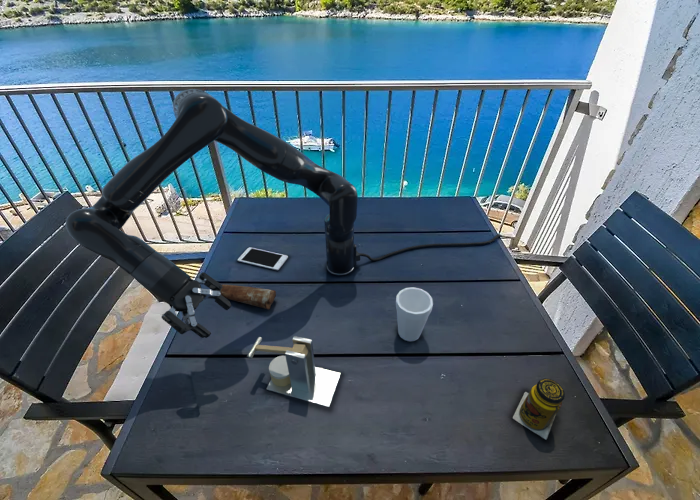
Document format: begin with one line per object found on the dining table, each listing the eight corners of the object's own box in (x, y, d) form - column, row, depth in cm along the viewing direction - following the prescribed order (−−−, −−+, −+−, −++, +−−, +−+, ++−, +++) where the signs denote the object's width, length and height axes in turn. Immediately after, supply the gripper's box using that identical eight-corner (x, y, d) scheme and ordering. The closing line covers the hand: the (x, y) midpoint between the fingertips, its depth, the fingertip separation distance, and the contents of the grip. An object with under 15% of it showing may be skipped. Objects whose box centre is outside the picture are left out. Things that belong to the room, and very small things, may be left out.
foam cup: (428, 324, 100) (435, 292, 92) (423, 349, 93) (430, 317, 85) (396, 315, 103) (400, 284, 95) (388, 340, 96) (392, 308, 88)
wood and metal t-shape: (249, 360, 81) (244, 353, 80) (260, 341, 85) (256, 334, 84) (302, 365, 76) (298, 359, 75) (311, 345, 80) (307, 338, 79)
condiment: (512, 418, 79) (528, 390, 71) (525, 391, 84) (541, 362, 76) (545, 440, 75) (567, 413, 68) (557, 410, 80) (578, 382, 73)
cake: (290, 361, 90) (288, 351, 87) (299, 379, 86) (297, 370, 83) (267, 371, 87) (265, 361, 85) (276, 390, 83) (273, 381, 81)
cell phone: (278, 271, 118) (277, 269, 118) (237, 261, 122) (236, 259, 122) (288, 257, 124) (288, 255, 123) (249, 248, 128) (248, 246, 128)
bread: (270, 314, 103) (267, 301, 100) (215, 299, 108) (210, 287, 105) (279, 299, 108) (277, 286, 105) (226, 286, 113) (222, 273, 109)
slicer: (266, 391, 84) (256, 355, 75) (282, 360, 91) (274, 323, 82) (329, 409, 81) (326, 373, 72) (340, 375, 88) (339, 338, 78)
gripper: (143, 292, 69) (209, 341, 73) (188, 249, 80) (243, 294, 84) (131, 305, 73) (194, 350, 78) (175, 263, 84) (228, 304, 89)
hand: (219, 321), depth 81 cm, fingers open, 8 cm apart
